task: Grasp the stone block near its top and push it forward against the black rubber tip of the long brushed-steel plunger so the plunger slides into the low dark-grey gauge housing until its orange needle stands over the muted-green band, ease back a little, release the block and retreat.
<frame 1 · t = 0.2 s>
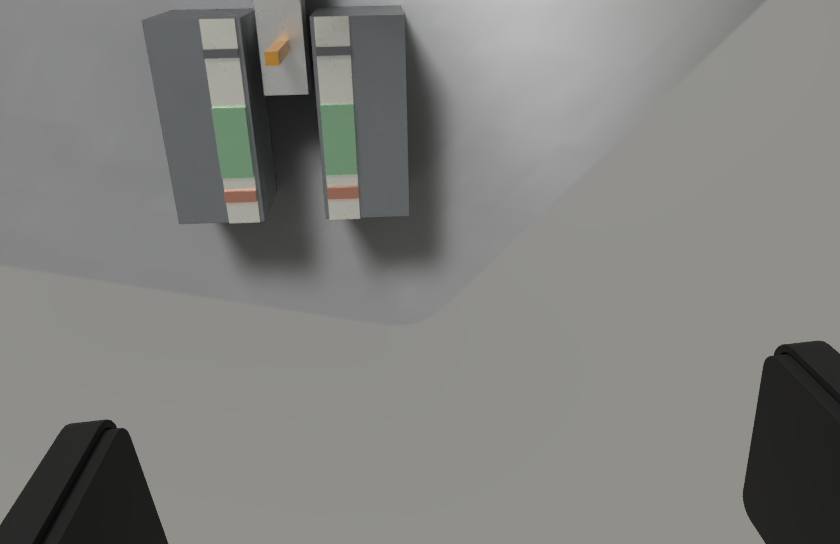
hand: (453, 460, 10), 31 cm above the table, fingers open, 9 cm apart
gauge housing: (296, 103, 38), on the table
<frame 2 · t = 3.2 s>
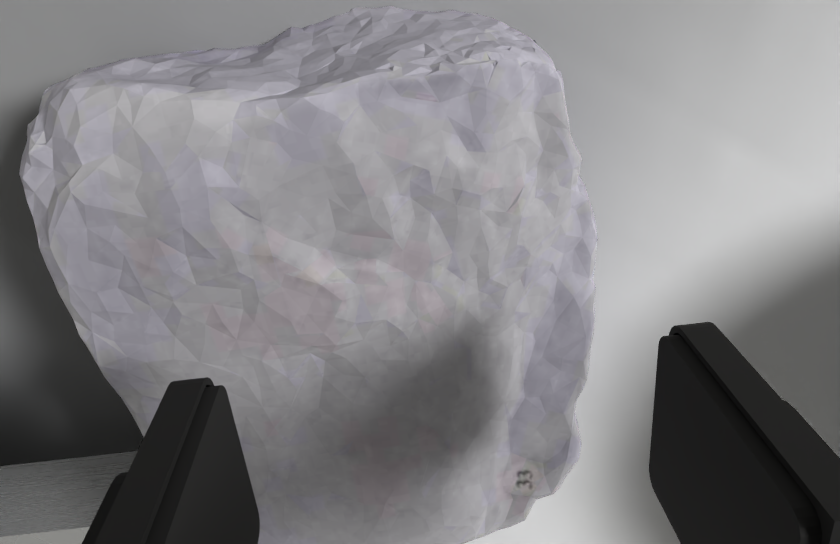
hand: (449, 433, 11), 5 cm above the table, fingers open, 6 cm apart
stone block: (366, 275, 16), on the table, touching plunger
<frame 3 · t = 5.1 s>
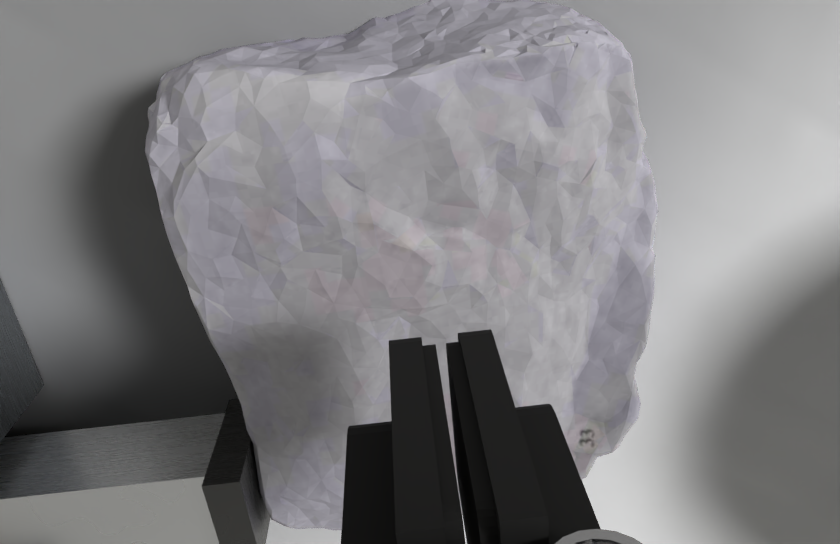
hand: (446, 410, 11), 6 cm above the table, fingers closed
stone block: (433, 250, 17), on the table, touching plunger
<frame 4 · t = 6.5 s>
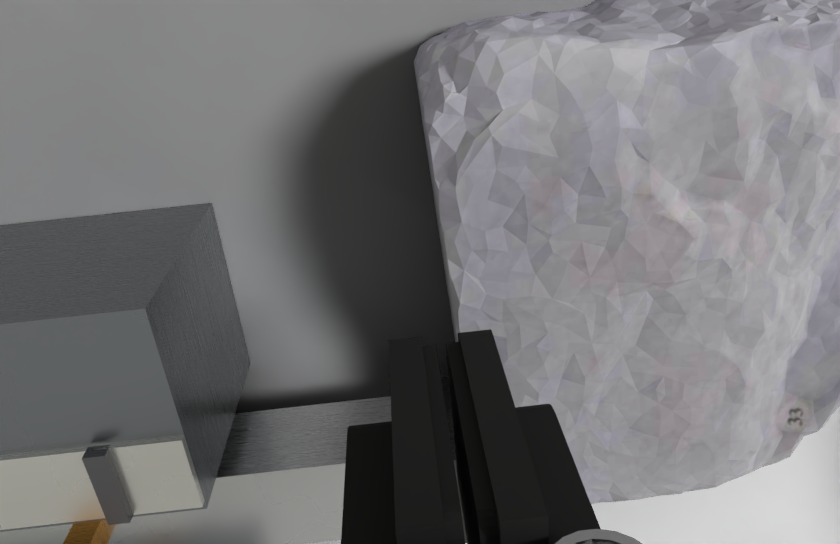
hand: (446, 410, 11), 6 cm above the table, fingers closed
plunger: (228, 532, 14), point 4 cm above the table, slide at 1.7 cm
gauge housing: (75, 433, 18), on the table
stone block: (629, 230, 17), on the table
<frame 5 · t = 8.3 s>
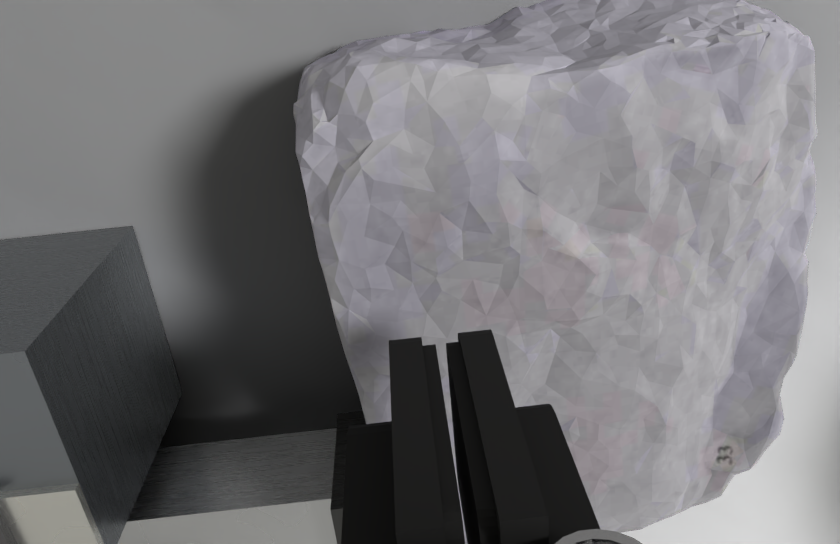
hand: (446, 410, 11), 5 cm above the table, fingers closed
gauge housing: (0, 465, 17), on the table
stone block: (553, 256, 16), on the table
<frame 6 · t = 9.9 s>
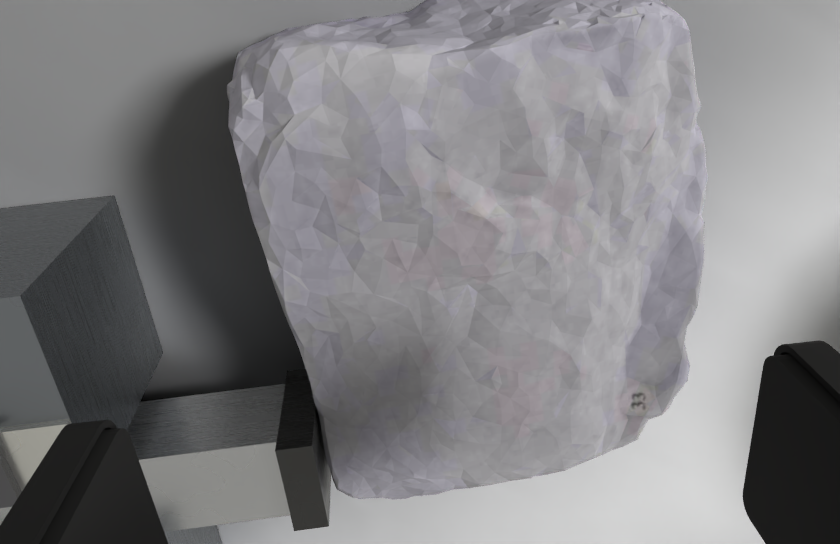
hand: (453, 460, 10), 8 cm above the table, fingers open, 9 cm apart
plunger: (74, 523, 15), point 4 cm above the table, slide at 2.9 cm
stone block: (482, 225, 18), on the table
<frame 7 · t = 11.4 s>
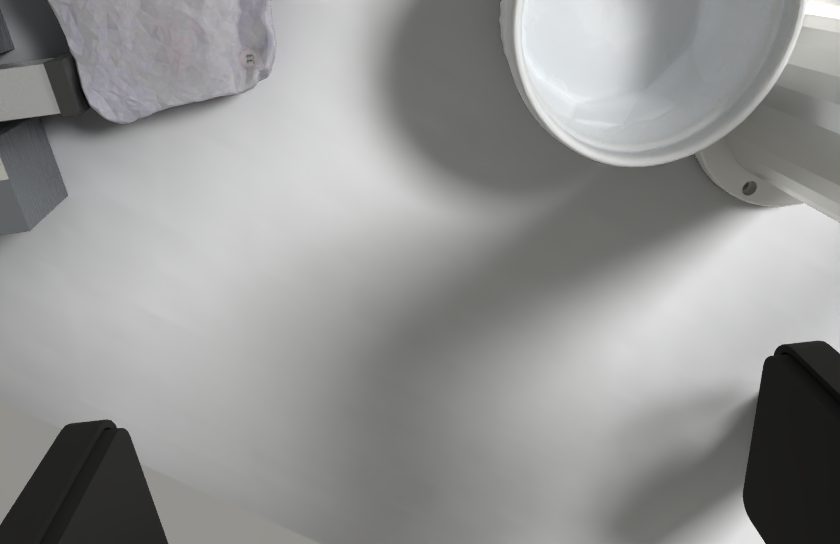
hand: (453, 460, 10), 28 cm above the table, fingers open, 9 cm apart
ramekin: (603, 6, 35), on the table
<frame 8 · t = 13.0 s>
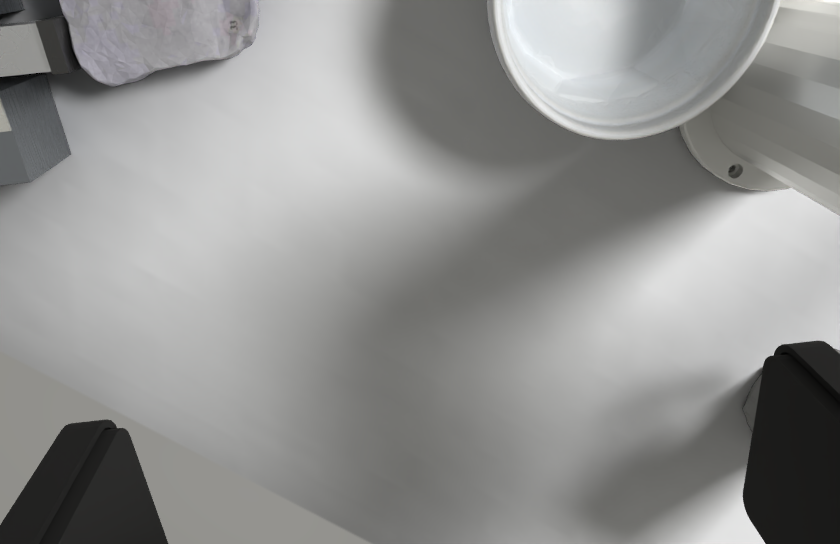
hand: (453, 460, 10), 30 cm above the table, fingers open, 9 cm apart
coffeepot: (804, 384, 48), on the table
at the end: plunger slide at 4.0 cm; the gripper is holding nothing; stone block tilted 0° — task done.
